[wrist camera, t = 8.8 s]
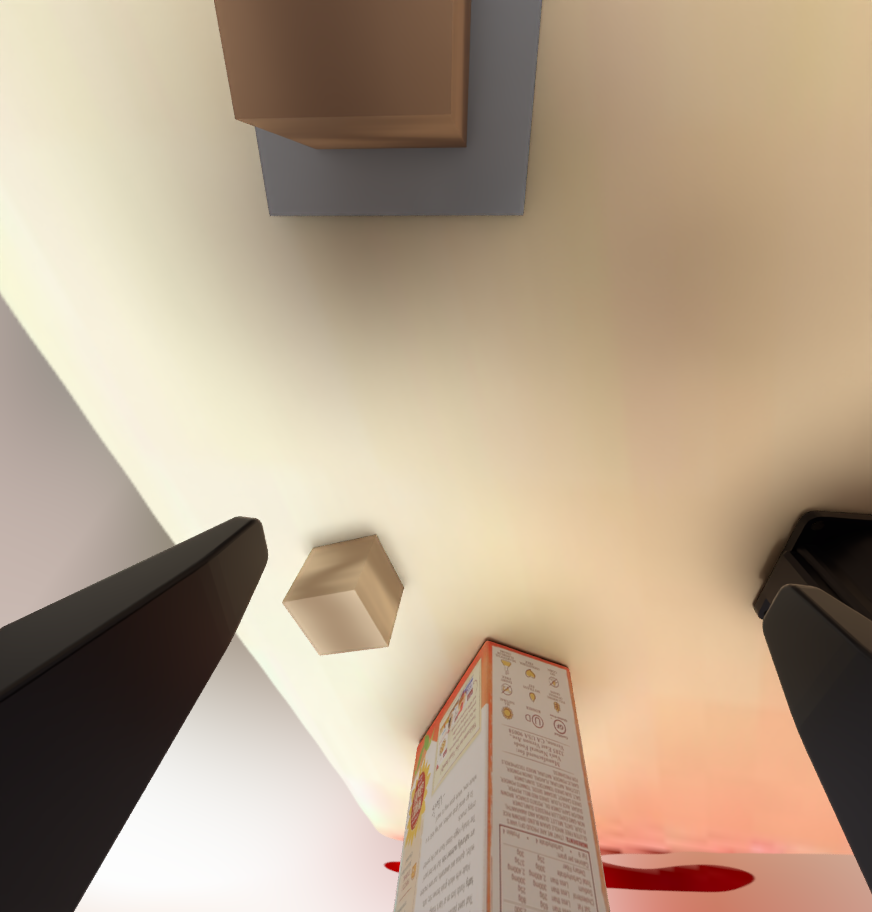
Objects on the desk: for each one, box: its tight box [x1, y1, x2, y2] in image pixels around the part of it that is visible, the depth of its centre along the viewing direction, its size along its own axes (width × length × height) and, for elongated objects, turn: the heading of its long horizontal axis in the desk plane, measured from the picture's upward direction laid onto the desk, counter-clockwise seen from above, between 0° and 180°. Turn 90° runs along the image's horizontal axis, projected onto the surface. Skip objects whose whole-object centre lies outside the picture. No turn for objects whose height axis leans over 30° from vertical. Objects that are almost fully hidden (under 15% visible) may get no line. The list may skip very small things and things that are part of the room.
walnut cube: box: [214, 0, 471, 149], centre depth 10 cm, size 5×5×5 cm
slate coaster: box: [255, 0, 542, 216], centre depth 13 cm, size 9×9×1 cm
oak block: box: [282, 535, 404, 656], centre depth 23 cm, size 4×4×4 cm
